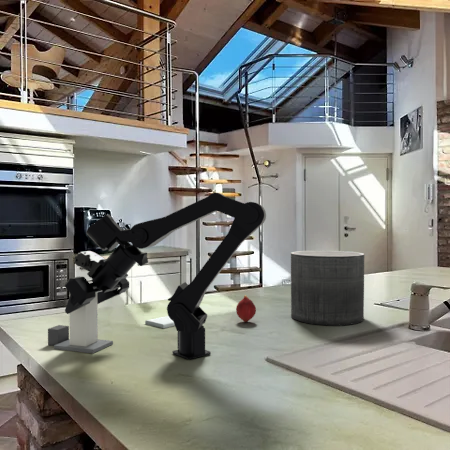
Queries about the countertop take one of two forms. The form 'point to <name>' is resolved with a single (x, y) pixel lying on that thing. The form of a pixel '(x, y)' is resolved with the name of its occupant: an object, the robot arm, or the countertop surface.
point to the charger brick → (84, 324)
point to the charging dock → (61, 340)
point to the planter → (327, 287)
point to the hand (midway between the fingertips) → (78, 308)
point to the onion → (246, 309)
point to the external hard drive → (161, 322)
